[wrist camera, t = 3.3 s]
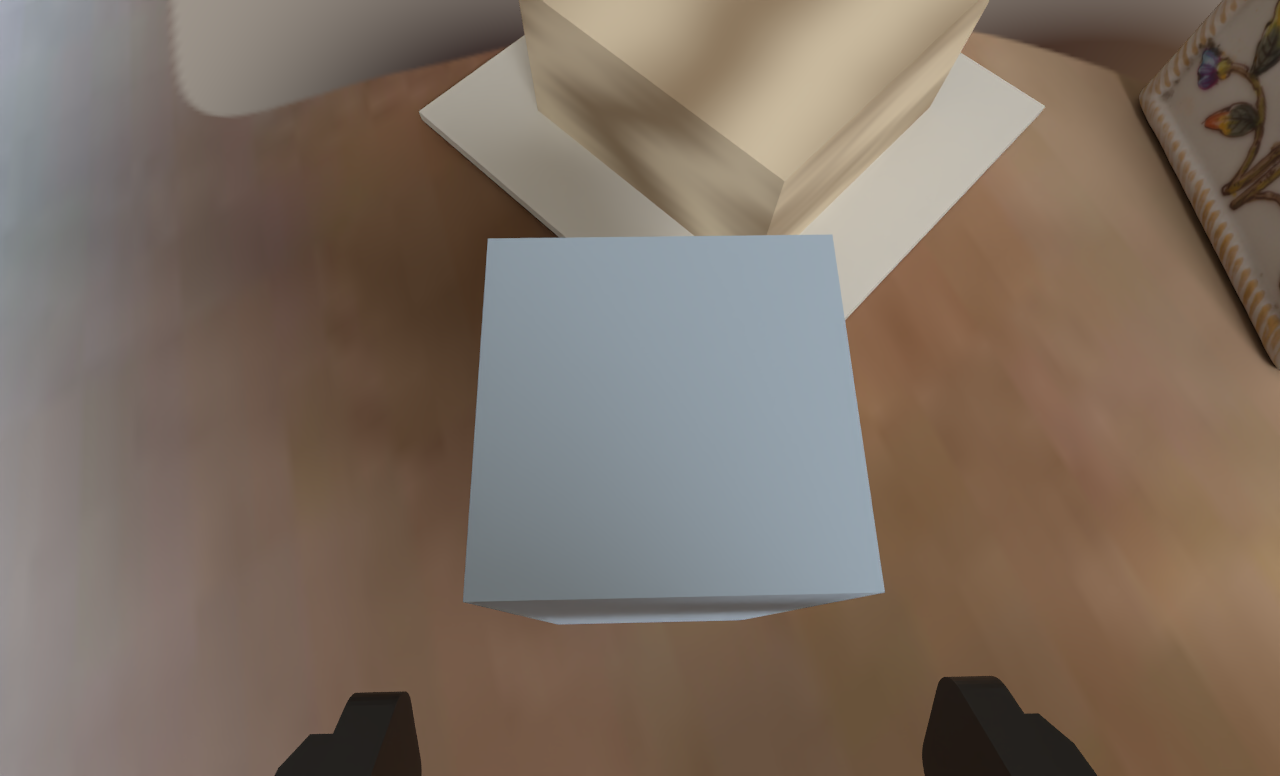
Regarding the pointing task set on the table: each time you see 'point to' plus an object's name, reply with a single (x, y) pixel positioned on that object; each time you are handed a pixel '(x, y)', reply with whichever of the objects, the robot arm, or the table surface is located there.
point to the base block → (741, 95)
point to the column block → (666, 432)
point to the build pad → (610, 207)
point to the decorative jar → (1230, 146)
